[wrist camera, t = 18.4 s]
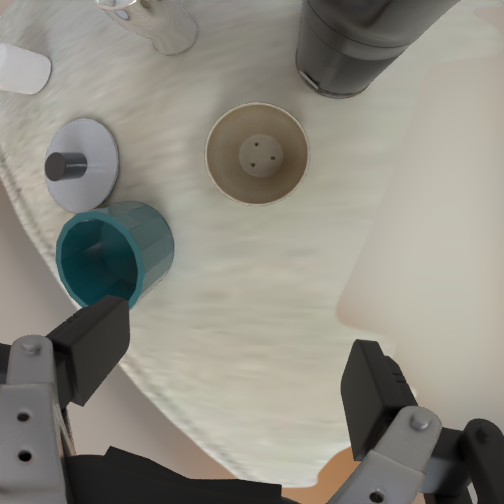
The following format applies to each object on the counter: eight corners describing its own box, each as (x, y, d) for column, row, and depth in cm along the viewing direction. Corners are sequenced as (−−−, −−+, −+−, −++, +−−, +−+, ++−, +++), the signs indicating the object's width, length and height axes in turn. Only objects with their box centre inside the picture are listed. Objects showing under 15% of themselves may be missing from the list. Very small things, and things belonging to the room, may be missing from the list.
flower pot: (203, 172, 37) (185, 173, 30) (245, 99, 34) (237, 84, 28) (276, 215, 38) (275, 225, 31) (321, 142, 35) (329, 136, 28)
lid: (45, 133, 37) (18, 132, 31) (116, 108, 36) (91, 101, 30) (56, 217, 40) (29, 225, 34) (127, 203, 39) (103, 210, 33)
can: (57, 55, 34) (5, 36, 23) (46, 95, 36) (-10, 84, 24) (31, 58, 34) (-20, 43, 23) (20, 95, 36) (-33, 87, 24)
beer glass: (178, 67, 34) (123, 21, 19) (139, 45, 33) (78, 1, 19) (212, 26, 32) (177, -37, 18) (172, 6, 32) (126, -52, 17)
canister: (90, 208, 40) (47, 220, 30) (166, 194, 38) (132, 203, 29) (107, 289, 42) (71, 316, 33) (181, 284, 41) (155, 315, 32)
